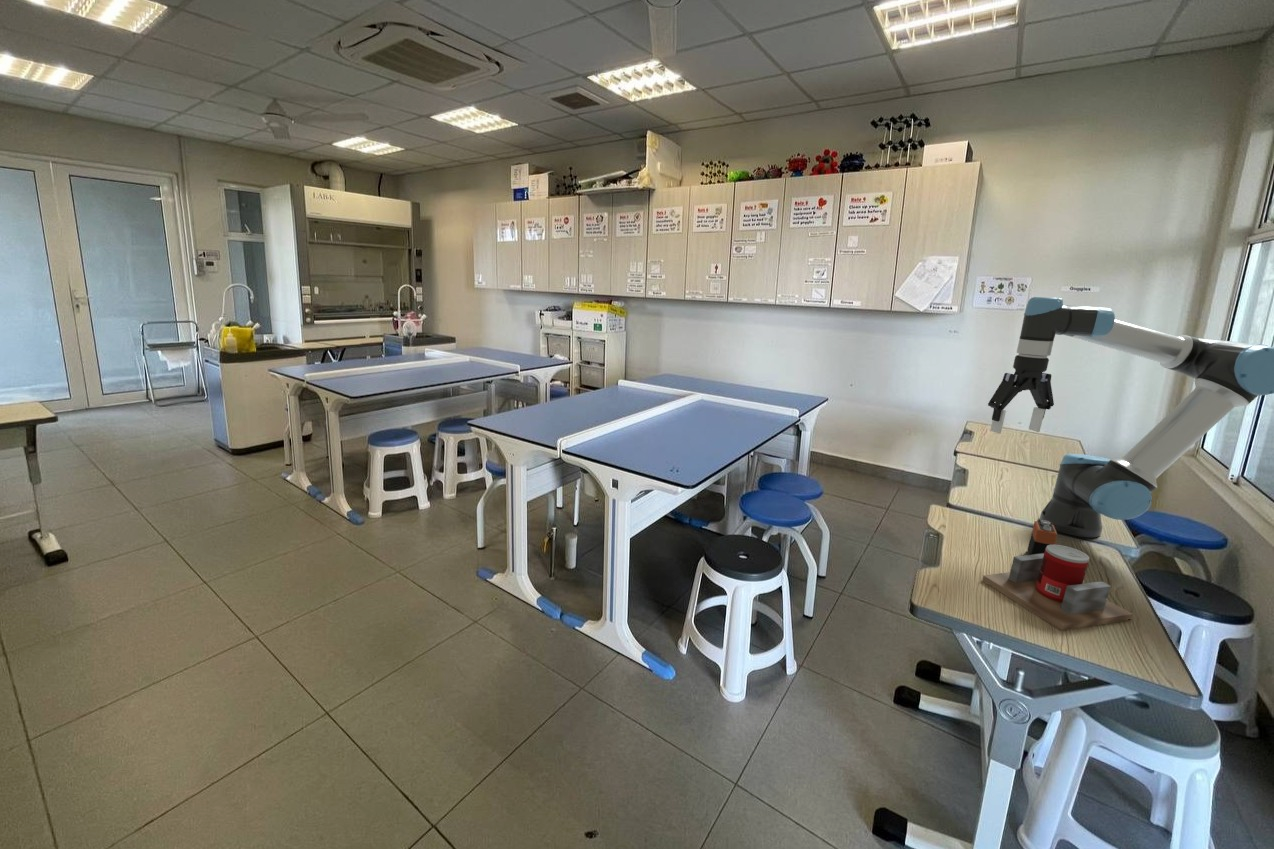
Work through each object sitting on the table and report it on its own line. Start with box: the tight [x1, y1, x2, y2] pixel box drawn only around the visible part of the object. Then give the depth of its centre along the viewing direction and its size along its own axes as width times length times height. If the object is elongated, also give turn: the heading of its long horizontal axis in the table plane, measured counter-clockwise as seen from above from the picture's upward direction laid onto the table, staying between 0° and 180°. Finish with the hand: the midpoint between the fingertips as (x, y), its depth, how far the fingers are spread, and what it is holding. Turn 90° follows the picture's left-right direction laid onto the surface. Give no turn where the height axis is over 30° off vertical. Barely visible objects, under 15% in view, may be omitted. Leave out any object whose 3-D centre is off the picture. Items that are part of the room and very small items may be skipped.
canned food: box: [1036, 544, 1090, 602], centre depth 125 cm, size 8×8×11 cm
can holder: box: [981, 553, 1133, 631], centre depth 126 cm, size 20×20×8 cm
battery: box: [1027, 520, 1058, 555], centre depth 145 cm, size 4×7×10 cm, turn 150°
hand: (1014, 431), depth 151 cm, fingers open, 13 cm apart
